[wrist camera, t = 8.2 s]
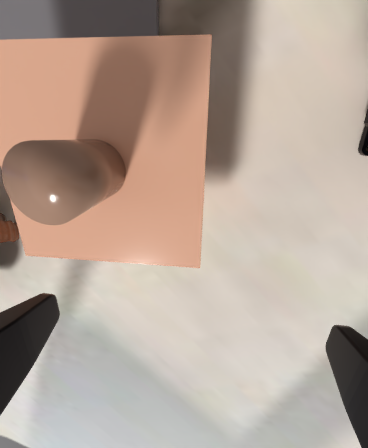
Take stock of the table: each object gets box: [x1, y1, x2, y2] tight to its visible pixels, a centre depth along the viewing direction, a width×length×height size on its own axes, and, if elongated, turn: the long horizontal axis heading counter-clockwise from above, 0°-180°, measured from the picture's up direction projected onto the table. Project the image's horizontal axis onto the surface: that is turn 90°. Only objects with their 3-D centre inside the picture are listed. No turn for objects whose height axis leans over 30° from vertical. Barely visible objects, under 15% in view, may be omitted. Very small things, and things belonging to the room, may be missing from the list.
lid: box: [0, 34, 212, 268], centre depth 11 cm, size 12×12×5 cm
